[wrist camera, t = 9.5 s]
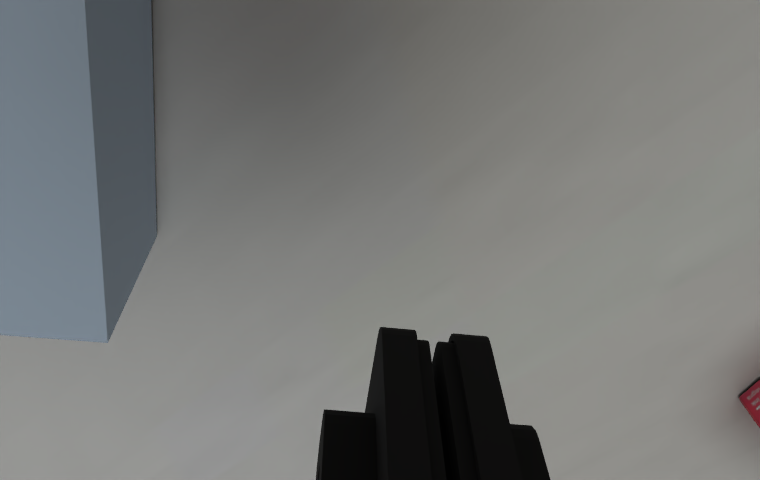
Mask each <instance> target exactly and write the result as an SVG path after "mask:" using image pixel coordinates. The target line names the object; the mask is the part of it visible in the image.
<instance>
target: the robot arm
mask: <svg viewBox="0 0 760 480" xmlns="http://www.w3.org/2000/svg"><path fill="white" fill-rule="evenodd" d="M316 480H550V477H549V473H548V470H547V466H546V463H545V459H544V455H543V452H542V448H541V445H540V441H539V438H538V435H537V433H536V430H535V429H534V428H533V427H532V426H528V425H515V424H510V423H509V419H508V415H507V410H506V406H505V402H504V398H503V394H502V390H501V385H500V381H499V377H498V373H497V369H496V365H495V360H494V356H493V352H492V348H491V344H490V341H489V338H488V337H487V336H475V335H464V334H451V336H450V338H449V341H448V342H438V343H437V345H436V348H435V352H434V357H433V361H431V353H430V346H429V342H428V341H426V340H417V334H416V331H415V330H408V329H397V328H386V327H380V329H379V333H378V338H377V344H376V350H375V356H374V362H373V368H372V374H371V380H370V386H369V391H368V397H367V403H366V409H365V413H362V412H349V411H336V410H324V413H323V420H322V427H321V435H320V443H319V452H318V462H317V472H316Z"/></svg>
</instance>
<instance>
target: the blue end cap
mask: <svg viewBox="0 0 760 480" xmlns="http://www.w3.org/2000/svg"><path fill="white" fill-rule="evenodd" d="M156 237H157V224H156V182H155V139H154V97H153V54H152V12H151V0H0V335H9V336H22V337H36V338H50V339H63V340H77V341H91V342H104V343H108V341H109V339H110V337H111V334H112V332H113V330H114V328H115V326H116V324H117V321H118V319H119V317H120V315H121V313H122V311H123V308H124V306H125V304H126V302H127V300H128V297H129V295H130V293H131V291H132V289H133V287H134V284H135V282H136V280H137V278H138V276H139V274H140V271H141V269H142V267H143V265H144V263H145V261H146V258H147V256H148V254H149V252H150V250H151V248H152V245H153V243H154V241H155V239H156Z"/></svg>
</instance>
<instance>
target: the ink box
mask: <svg viewBox="0 0 760 480" xmlns="http://www.w3.org/2000/svg"><path fill="white" fill-rule="evenodd" d="M739 399H740V401H741V402H742V404H743V405H744V407H745V408H746V409H747V411H748V412H749V414H750V415H751V416H752V418H753V419H754V421H755V422H756V423H757V425H758V426H759V427H760V380H759V381H757V382H756V383H755V384H754V385H753V386H752V387H750V388H749V389H748V390H747V391H746V392H744V393H743V394H742V395H741V396H740V397H739Z"/></svg>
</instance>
